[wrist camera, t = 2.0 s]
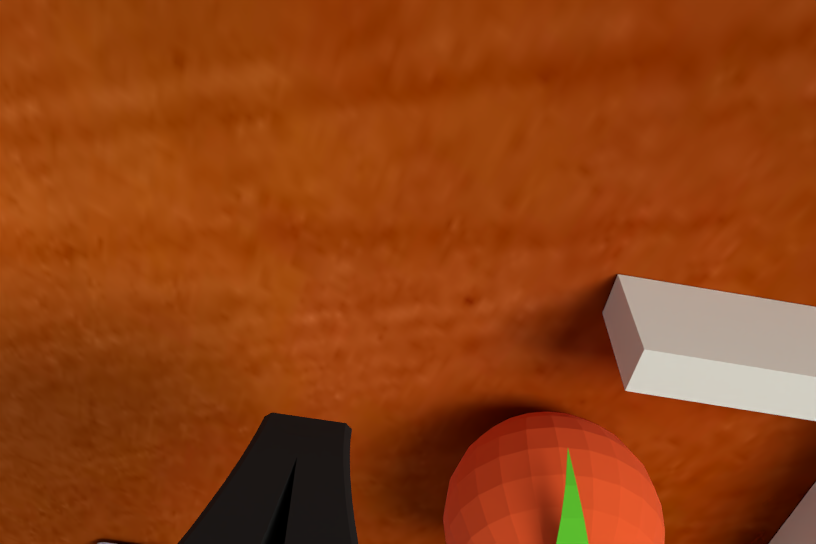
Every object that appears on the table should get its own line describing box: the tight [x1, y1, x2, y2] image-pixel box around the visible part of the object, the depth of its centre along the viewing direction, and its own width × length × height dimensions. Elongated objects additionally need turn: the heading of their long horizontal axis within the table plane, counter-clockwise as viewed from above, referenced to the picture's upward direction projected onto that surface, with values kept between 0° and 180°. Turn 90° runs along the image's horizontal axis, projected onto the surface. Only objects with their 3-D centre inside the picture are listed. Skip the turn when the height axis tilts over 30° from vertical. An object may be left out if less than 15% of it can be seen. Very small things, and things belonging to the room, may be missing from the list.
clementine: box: [443, 411, 665, 544], centre depth 22 cm, size 8×7×7 cm
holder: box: [602, 274, 816, 544], centre depth 23 cm, size 14×12×4 cm
